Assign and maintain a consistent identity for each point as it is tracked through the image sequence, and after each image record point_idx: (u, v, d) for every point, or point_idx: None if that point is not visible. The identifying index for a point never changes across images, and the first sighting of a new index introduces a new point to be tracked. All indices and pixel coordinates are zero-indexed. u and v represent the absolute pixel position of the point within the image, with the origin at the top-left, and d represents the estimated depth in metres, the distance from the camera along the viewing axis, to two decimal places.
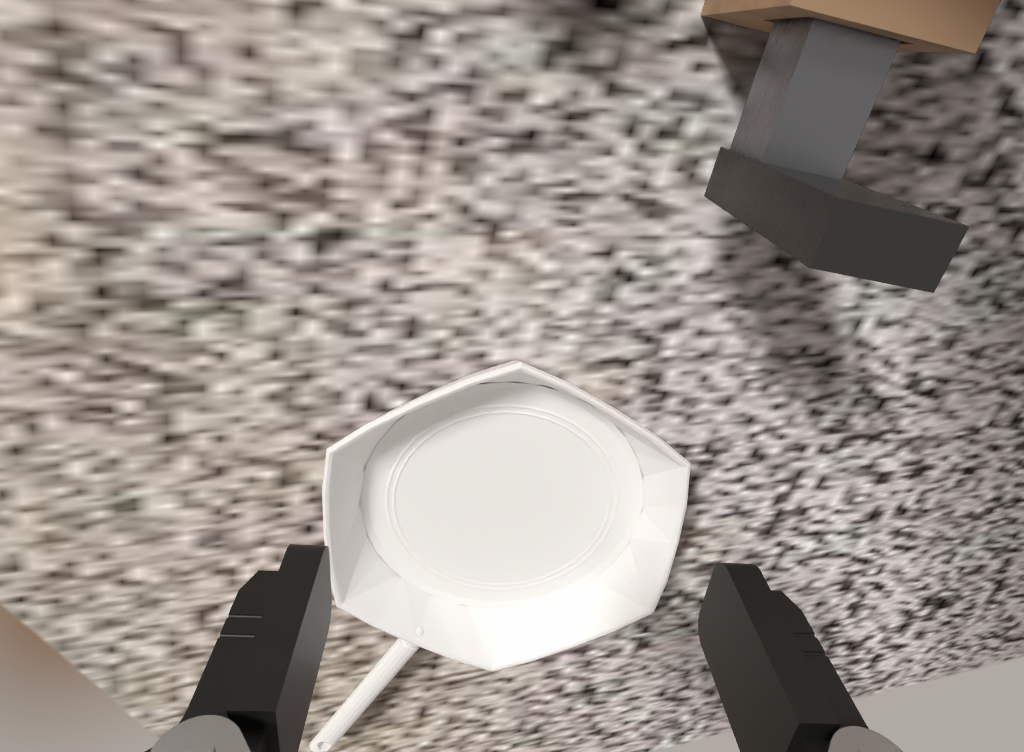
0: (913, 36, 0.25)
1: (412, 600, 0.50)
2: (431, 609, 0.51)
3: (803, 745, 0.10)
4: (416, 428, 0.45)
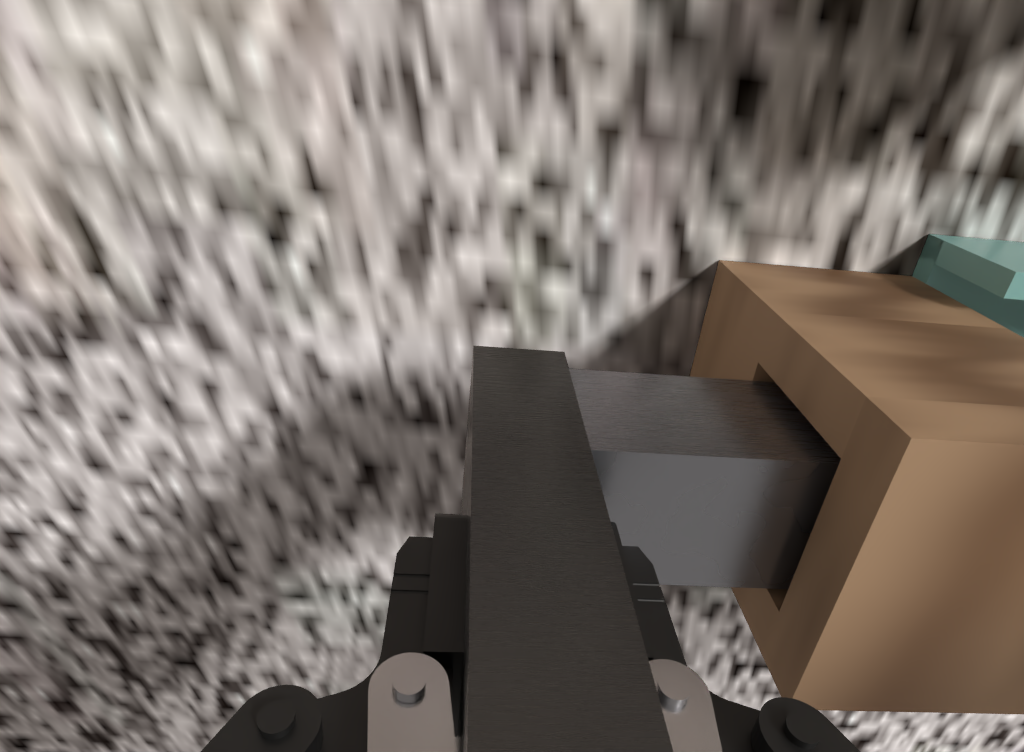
0: (824, 631, 0.15)
1: None
2: None
3: None
4: None
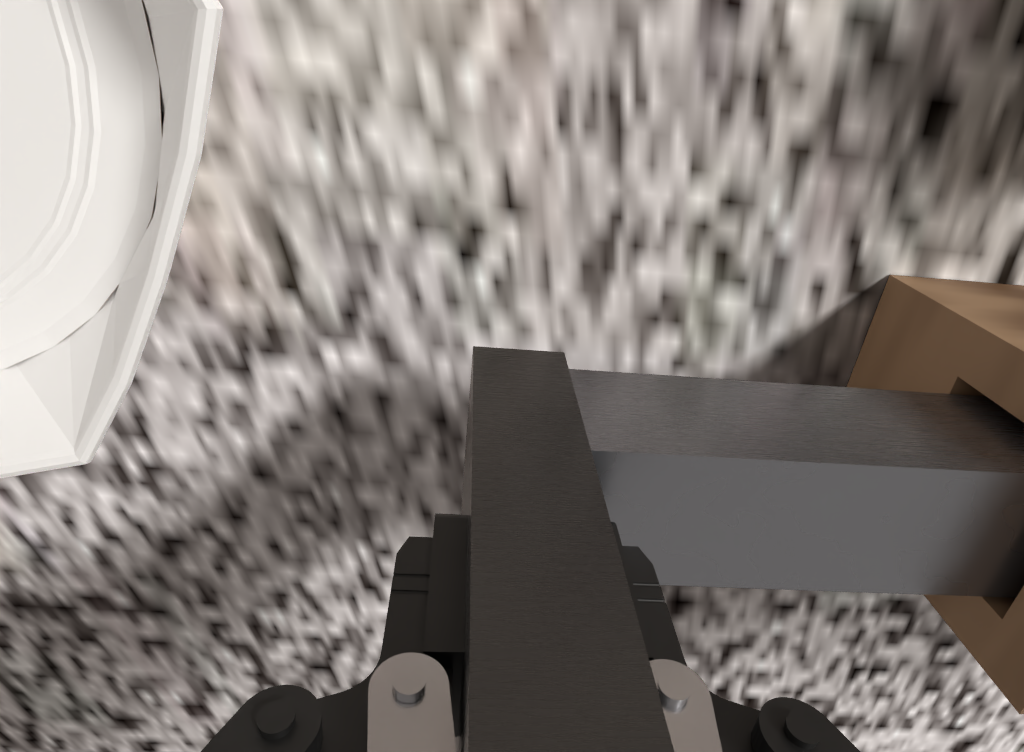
0: None
1: None
2: None
3: None
4: None
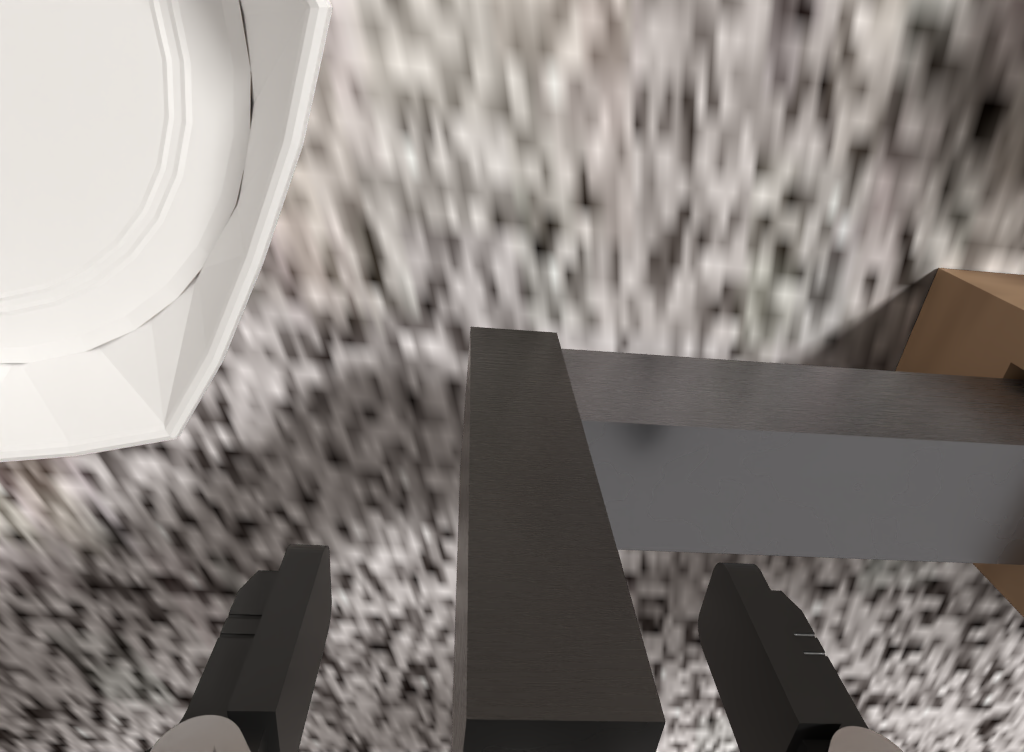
0: None
1: None
2: None
3: (803, 745, 0.10)
4: None
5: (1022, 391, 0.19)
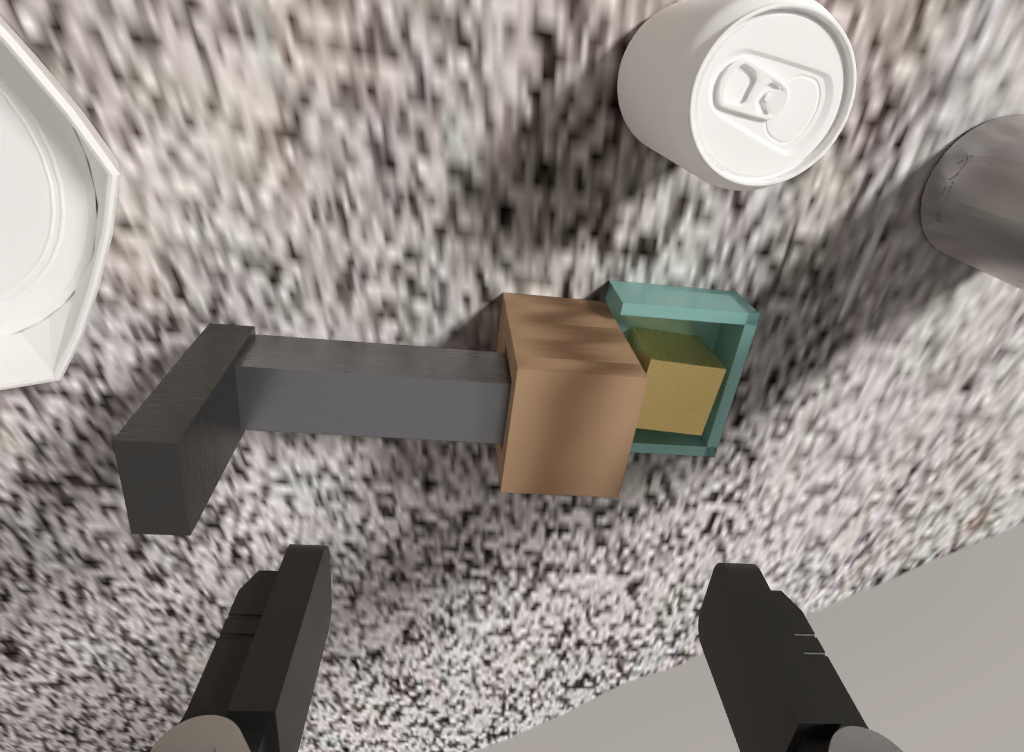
0: (506, 452, 0.36)
1: None
2: None
3: (803, 745, 0.10)
4: None
5: (499, 358, 0.38)
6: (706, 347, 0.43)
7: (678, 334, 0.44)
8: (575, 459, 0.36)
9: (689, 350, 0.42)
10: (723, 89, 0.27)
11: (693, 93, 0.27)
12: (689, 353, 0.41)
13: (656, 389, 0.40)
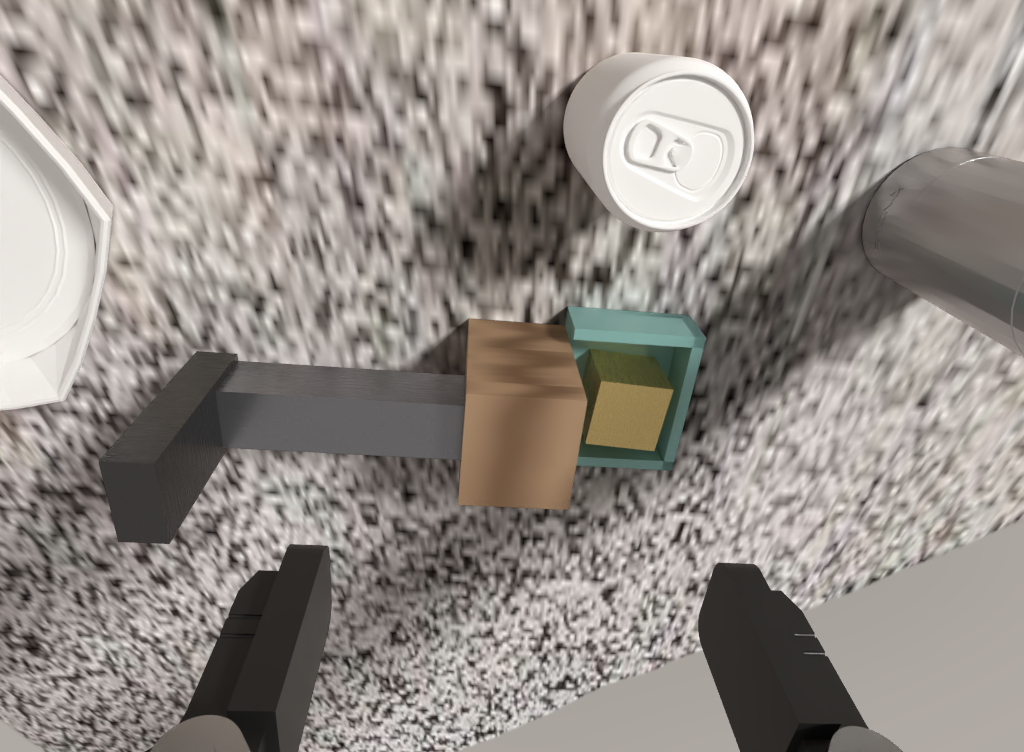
0: (461, 468, 0.39)
1: None
2: None
3: (803, 745, 0.10)
4: None
5: (459, 381, 0.42)
6: (659, 368, 0.46)
7: (634, 355, 0.47)
8: (525, 474, 0.39)
9: (641, 371, 0.45)
10: (632, 146, 0.30)
11: (604, 150, 0.30)
12: (640, 374, 0.44)
13: (608, 408, 0.43)
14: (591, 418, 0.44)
